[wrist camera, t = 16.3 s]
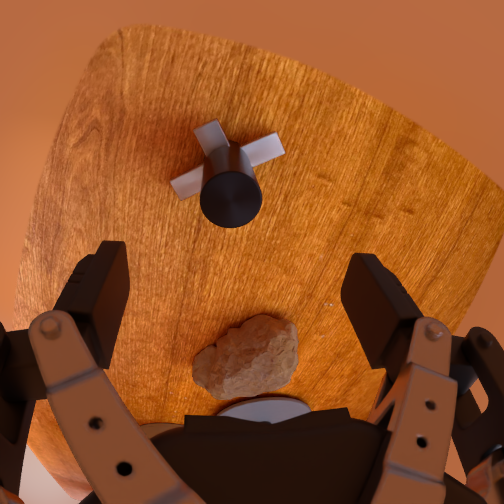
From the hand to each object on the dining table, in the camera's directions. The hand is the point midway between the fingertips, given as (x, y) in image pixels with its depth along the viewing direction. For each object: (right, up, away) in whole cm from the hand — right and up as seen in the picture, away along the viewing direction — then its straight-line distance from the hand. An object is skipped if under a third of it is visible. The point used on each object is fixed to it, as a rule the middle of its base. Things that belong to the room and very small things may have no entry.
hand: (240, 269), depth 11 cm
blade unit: (-1, +7, +10) cm, 12 cm away
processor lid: (+2, -23, +28) cm, 36 cm away
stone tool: (0, -9, +20) cm, 22 cm away
